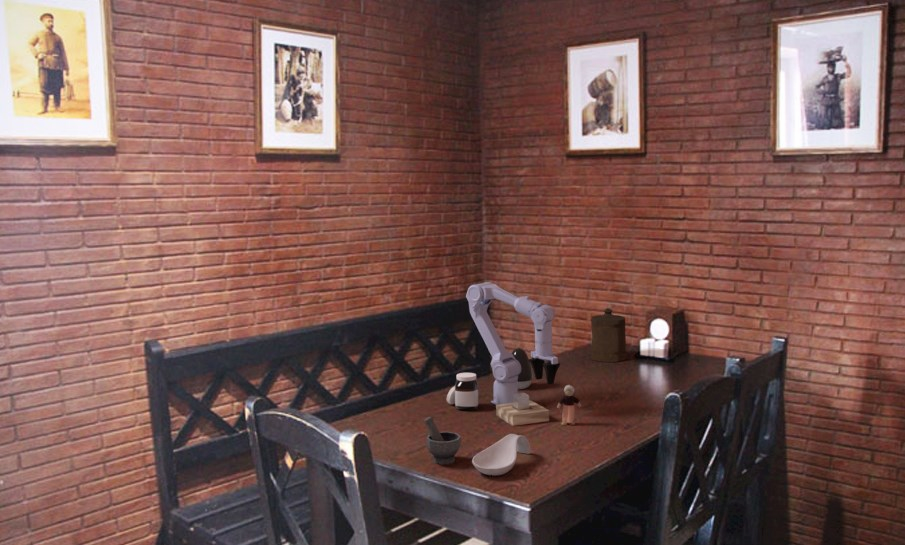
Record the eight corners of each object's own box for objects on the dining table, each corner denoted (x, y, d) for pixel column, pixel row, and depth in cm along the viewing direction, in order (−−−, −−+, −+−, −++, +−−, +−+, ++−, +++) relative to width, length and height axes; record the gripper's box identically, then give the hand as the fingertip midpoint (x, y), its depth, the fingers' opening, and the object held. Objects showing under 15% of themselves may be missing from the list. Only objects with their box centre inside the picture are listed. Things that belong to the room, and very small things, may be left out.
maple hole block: (496, 415, 270) (496, 405, 269) (531, 410, 274) (531, 400, 274) (512, 425, 257) (512, 415, 257) (549, 420, 262) (549, 410, 262)
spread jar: (475, 412, 274) (474, 378, 273) (442, 411, 276) (442, 377, 275) (481, 402, 286) (480, 370, 284) (450, 401, 288) (449, 369, 286)
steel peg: (513, 417, 267) (512, 393, 266) (524, 415, 268) (524, 392, 267) (518, 420, 263) (517, 396, 262) (529, 419, 264) (529, 395, 264)
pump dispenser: (532, 384, 310) (532, 345, 308) (532, 391, 299) (532, 351, 298) (506, 384, 311) (505, 345, 309) (505, 391, 300) (504, 351, 299)
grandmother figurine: (560, 426, 256) (560, 387, 254) (556, 423, 259) (555, 384, 258) (583, 424, 258) (583, 385, 256) (578, 420, 261) (577, 382, 260)
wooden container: (606, 353, 361) (605, 304, 358) (632, 358, 349) (632, 308, 347) (583, 358, 351) (583, 308, 349) (610, 364, 340) (610, 312, 338)
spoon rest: (503, 483, 210) (503, 457, 209) (464, 476, 216) (463, 450, 215) (541, 456, 230) (541, 431, 229) (505, 449, 236) (504, 426, 235)
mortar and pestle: (467, 458, 228) (466, 417, 227) (449, 468, 220) (448, 426, 219) (434, 452, 234) (433, 411, 233) (416, 461, 226) (415, 420, 225)
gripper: (522, 339, 275) (523, 378, 277) (544, 346, 262) (545, 387, 263) (540, 337, 278) (541, 375, 279) (563, 343, 265) (564, 384, 266)
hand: (544, 381), depth 272 cm, fingers open, 7 cm apart
